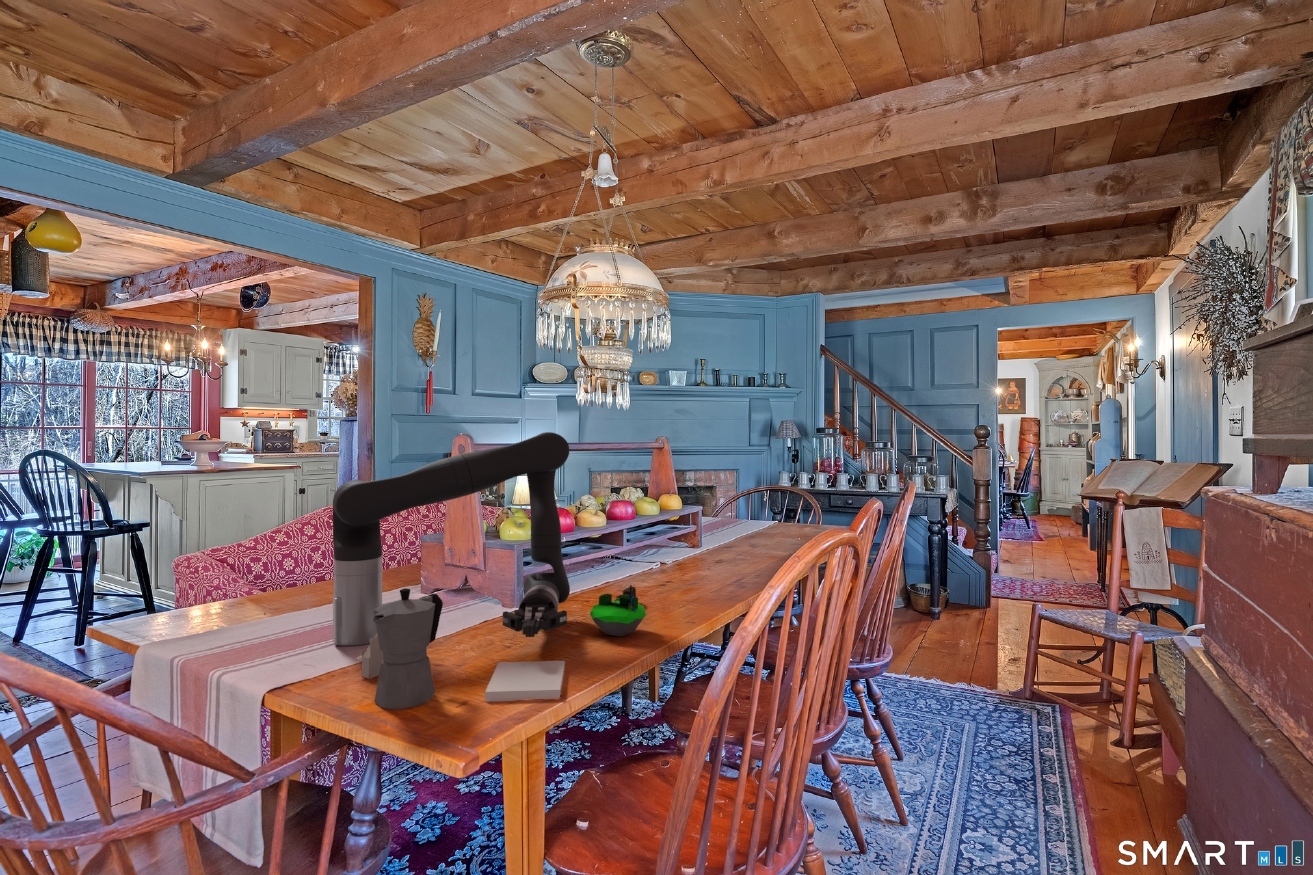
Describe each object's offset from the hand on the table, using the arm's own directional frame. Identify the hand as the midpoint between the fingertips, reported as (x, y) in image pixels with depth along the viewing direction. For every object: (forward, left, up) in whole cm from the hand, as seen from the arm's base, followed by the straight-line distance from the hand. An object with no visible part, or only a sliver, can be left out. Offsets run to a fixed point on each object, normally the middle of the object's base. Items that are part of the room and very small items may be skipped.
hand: (529, 631), depth 121 cm
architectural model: (-24, +14, -8) cm, 29 cm away
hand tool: (+33, +29, -8) cm, 45 cm away
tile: (+1, +1, -7) cm, 7 cm away
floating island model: (+24, +13, -8) cm, 29 cm away
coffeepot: (-21, -1, -8) cm, 22 cm away
